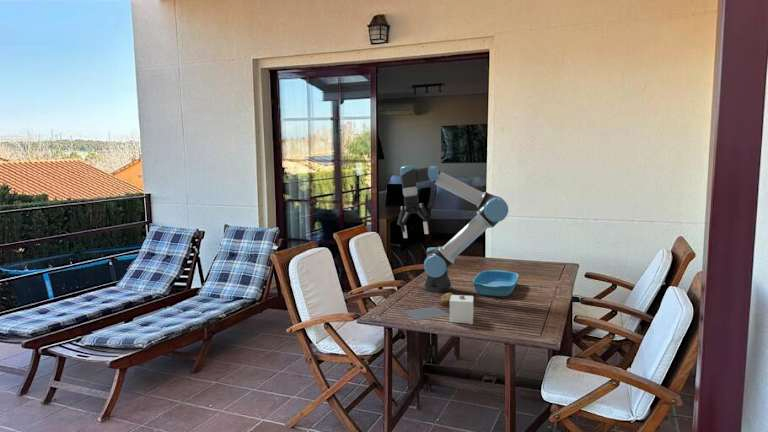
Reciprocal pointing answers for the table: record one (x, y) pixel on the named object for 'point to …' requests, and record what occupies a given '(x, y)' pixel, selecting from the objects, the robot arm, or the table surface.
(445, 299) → the bread roll
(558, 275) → the table surface
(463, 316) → the box cover
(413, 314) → the rubber mat
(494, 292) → the casserole dish
